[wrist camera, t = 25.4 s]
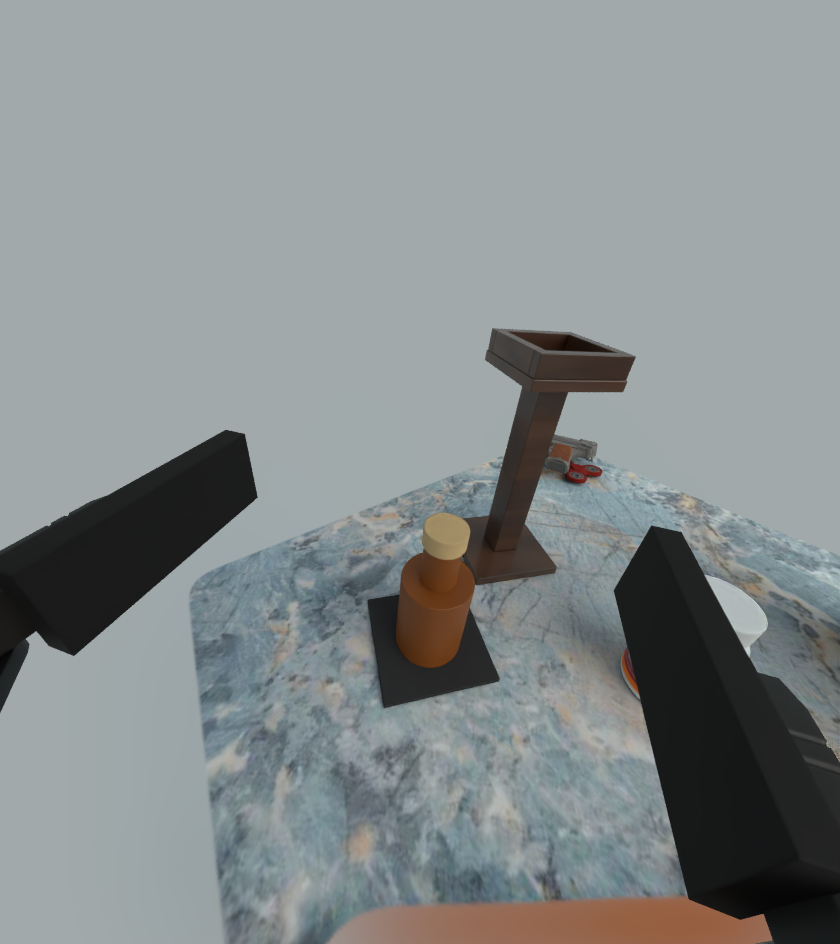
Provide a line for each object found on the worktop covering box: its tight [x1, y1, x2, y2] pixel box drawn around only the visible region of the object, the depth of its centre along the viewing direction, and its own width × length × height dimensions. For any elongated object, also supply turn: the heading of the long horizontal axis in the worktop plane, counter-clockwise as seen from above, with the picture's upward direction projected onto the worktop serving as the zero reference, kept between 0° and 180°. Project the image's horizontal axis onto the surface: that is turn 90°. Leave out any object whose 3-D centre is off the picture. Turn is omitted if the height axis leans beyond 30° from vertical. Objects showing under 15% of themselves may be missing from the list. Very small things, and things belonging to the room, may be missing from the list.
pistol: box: [545, 434, 597, 474], centre depth 66 cm, size 19×2×12 cm
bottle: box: [396, 513, 475, 668], centre depth 29 cm, size 6×6×13 cm
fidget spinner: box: [566, 461, 602, 483], centre depth 61 cm, size 8×7×1 cm
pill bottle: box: [621, 575, 768, 699], centre depth 28 cm, size 6×6×11 cm
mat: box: [368, 595, 500, 708], centre depth 33 cm, size 10×10×1 cm
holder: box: [463, 329, 636, 585], centre depth 37 cm, size 10×10×25 cm
